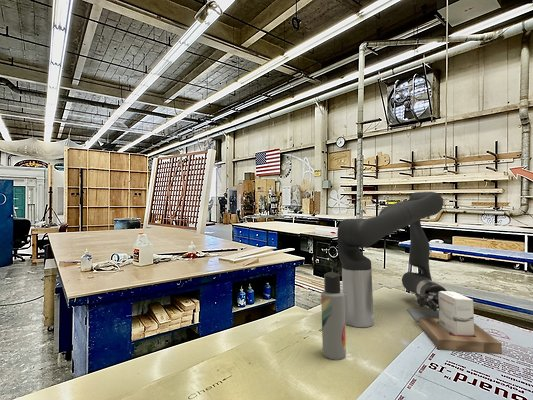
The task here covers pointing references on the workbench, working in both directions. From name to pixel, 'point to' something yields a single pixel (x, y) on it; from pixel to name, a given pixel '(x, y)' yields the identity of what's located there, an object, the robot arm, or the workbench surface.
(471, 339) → the wooden square frame
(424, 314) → the grey mat
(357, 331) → the workbench surface
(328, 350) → the lotion bottle
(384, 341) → the workbench surface
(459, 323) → the ink box
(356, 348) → the workbench surface
